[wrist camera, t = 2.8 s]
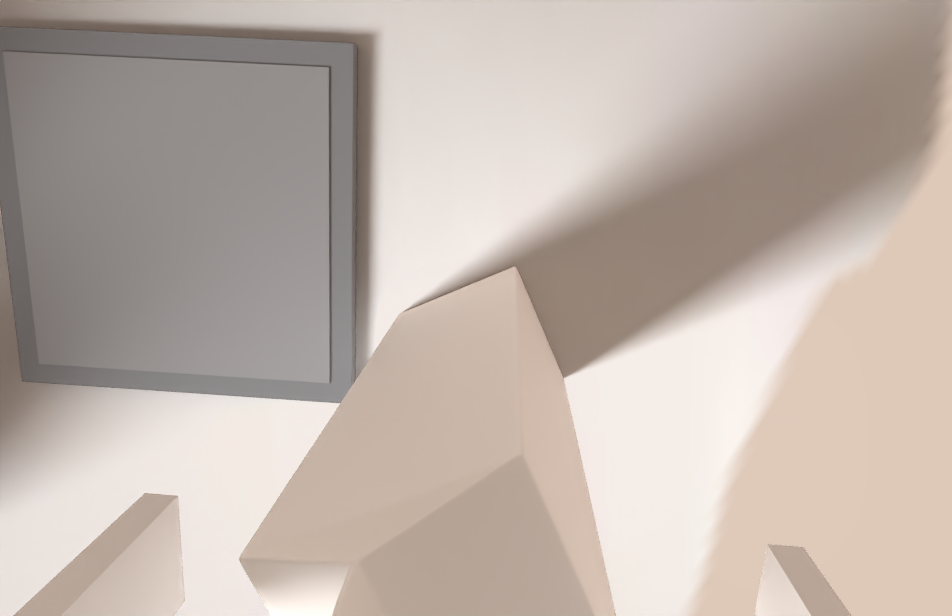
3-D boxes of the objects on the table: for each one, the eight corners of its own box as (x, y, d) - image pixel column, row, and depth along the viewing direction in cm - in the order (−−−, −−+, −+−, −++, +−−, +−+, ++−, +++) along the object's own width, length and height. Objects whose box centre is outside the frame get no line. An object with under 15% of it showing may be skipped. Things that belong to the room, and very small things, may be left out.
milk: (515, 264, 30) (534, 549, 9) (565, 380, 31) (688, 882, 10) (395, 314, 31) (143, 687, 10) (448, 425, 32) (328, 980, 11)
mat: (34, 375, 33) (20, 382, 32) (-8, 28, 29) (-24, 25, 28) (354, 397, 32) (350, 404, 31) (357, 46, 28) (352, 42, 27)
